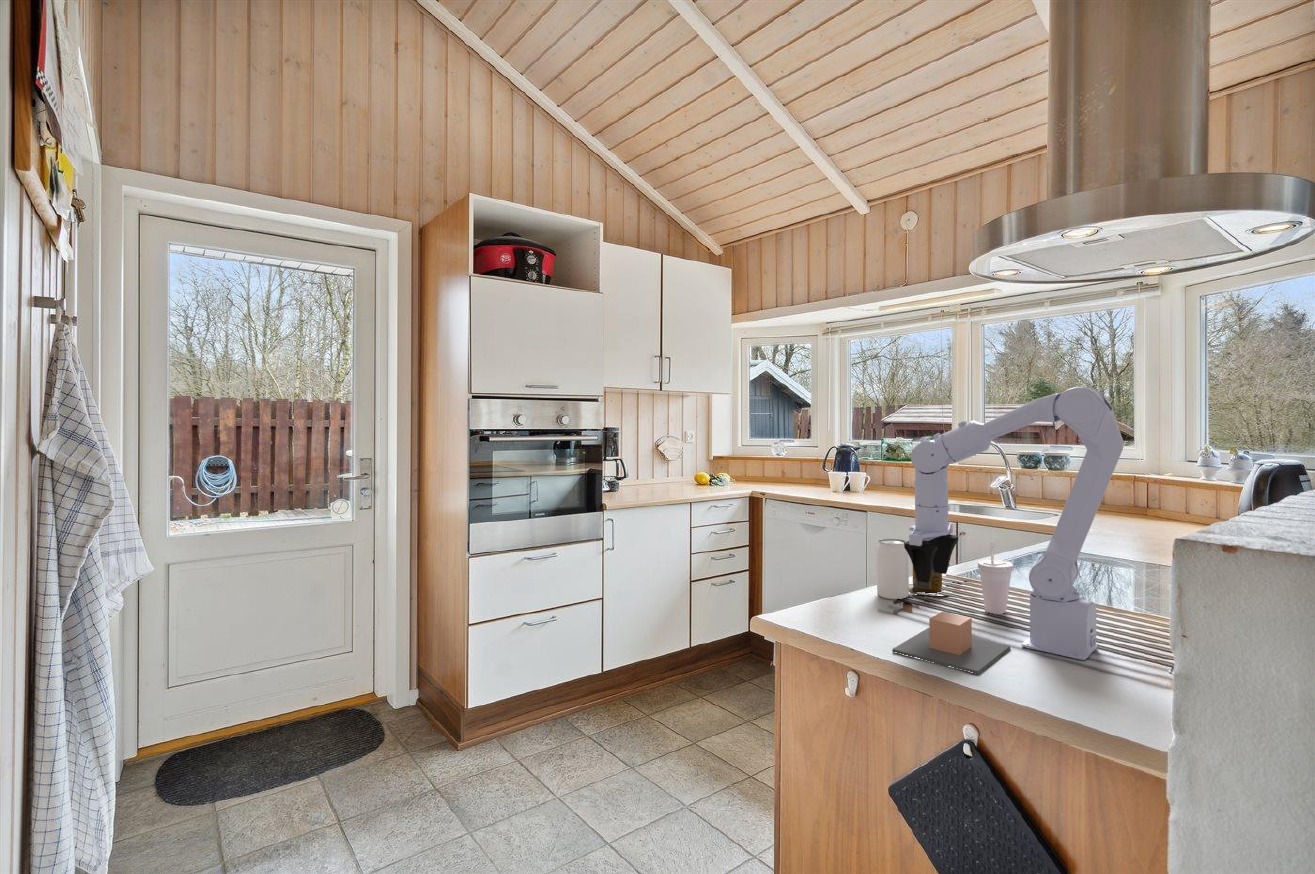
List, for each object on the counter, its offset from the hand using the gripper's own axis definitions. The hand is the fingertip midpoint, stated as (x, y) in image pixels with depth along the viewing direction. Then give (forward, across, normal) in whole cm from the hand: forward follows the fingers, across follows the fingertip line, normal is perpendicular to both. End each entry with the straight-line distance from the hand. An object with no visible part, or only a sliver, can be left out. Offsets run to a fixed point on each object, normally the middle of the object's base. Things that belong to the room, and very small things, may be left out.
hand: (932, 577), depth 126 cm
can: (+10, -13, -14) cm, 22 cm away
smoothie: (+10, -16, +6) cm, 19 cm away
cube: (+9, +10, +7) cm, 15 cm away
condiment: (+10, -21, -10) cm, 25 cm away
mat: (+9, +10, +8) cm, 16 cm away
